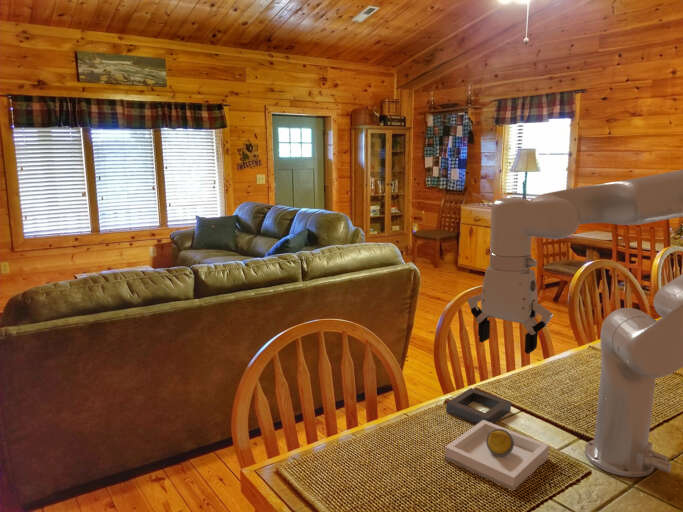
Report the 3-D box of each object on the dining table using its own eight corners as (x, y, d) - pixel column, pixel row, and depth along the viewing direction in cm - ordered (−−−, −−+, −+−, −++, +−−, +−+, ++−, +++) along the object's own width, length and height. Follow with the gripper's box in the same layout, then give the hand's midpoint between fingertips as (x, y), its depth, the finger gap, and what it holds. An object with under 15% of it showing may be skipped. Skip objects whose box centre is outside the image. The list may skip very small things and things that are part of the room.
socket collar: (510, 411, 129) (511, 401, 129) (487, 428, 122) (487, 418, 121) (470, 396, 137) (470, 387, 136) (446, 412, 129) (446, 402, 129)
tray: (548, 458, 110) (549, 445, 109) (513, 492, 99) (513, 477, 99) (482, 432, 120) (483, 419, 120) (444, 459, 110) (445, 446, 109)
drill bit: (520, 456, 110) (509, 441, 103) (495, 463, 111) (482, 449, 104) (511, 431, 113) (500, 415, 106) (487, 438, 115) (474, 423, 108)
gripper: (562, 264, 101) (557, 350, 104) (478, 254, 112) (476, 331, 116) (546, 272, 95) (541, 362, 99) (460, 260, 107) (458, 341, 110)
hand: (506, 345), depth 107 cm, fingers open, 9 cm apart
